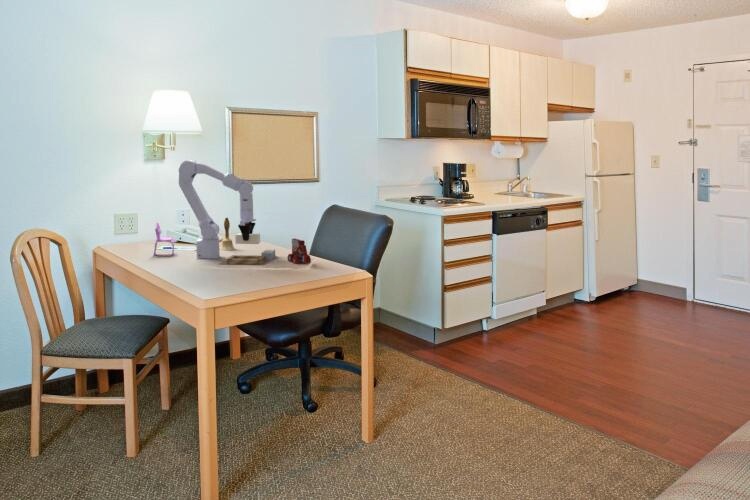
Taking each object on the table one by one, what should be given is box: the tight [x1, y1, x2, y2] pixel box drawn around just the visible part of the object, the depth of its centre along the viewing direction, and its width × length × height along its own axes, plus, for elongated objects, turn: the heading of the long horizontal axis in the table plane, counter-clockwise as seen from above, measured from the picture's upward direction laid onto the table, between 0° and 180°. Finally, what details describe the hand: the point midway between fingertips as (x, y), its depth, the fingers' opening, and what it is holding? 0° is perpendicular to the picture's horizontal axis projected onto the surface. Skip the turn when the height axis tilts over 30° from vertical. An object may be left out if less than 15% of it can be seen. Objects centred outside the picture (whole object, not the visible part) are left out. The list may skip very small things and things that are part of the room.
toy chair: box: [153, 221, 175, 257], centre depth 268 cm, size 8×9×15 cm
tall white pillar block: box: [234, 232, 261, 245], centre depth 260 cm, size 10×4×4 cm, turn 87°
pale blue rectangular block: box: [260, 249, 276, 261], centre depth 257 cm, size 4×9×3 cm, turn 177°
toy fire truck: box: [287, 238, 312, 265], centre depth 249 cm, size 7×12×10 cm, turn 32°
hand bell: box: [219, 217, 236, 252], centre depth 278 cm, size 8×8×16 cm
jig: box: [216, 254, 273, 266], centre depth 253 cm, size 20×22×3 cm
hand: (247, 239), depth 260 cm, fingers closed on tall white pillar block, 4 cm apart
